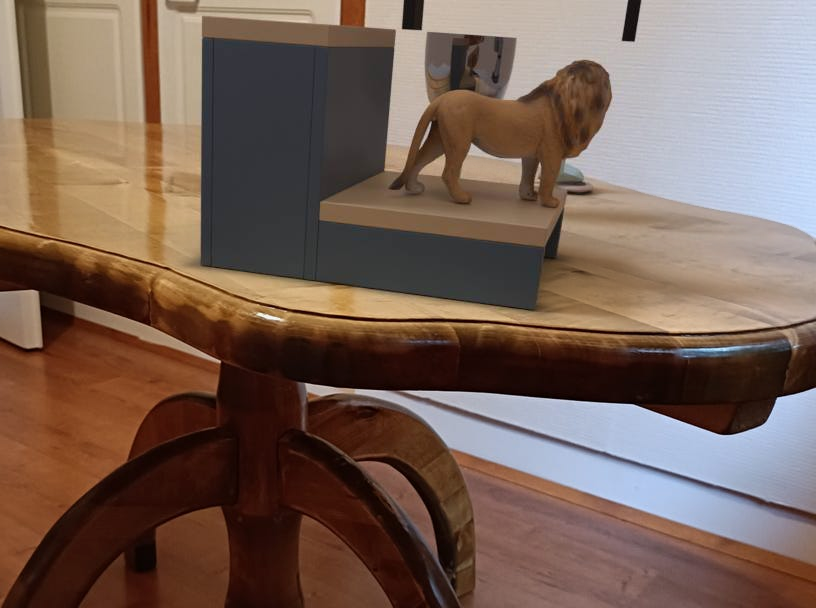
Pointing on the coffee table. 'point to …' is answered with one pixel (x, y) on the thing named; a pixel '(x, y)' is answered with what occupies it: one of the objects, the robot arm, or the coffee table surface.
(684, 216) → the coffee table surface
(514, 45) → the wine glass
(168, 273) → the coffee table surface
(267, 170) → the two-step block
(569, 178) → the pacifier
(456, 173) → the lion figurine
